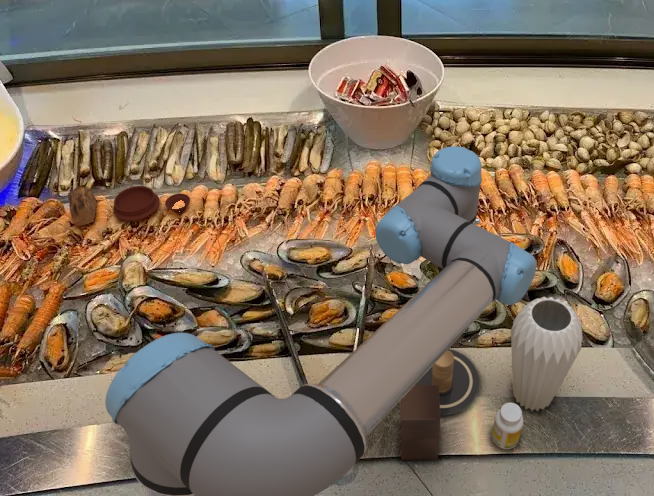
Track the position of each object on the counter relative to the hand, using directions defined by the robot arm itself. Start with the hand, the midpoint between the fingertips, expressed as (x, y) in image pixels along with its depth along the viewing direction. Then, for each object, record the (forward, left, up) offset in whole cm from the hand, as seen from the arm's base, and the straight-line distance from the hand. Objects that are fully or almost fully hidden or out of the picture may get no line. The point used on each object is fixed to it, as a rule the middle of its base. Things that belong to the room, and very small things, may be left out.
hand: (446, 314), depth 122 cm
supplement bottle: (+7, -15, -25) cm, 30 cm away
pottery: (-46, +80, -25) cm, 95 cm away
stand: (-9, -9, -25) cm, 28 cm away
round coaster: (+1, +1, -25) cm, 25 cm away
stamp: (0, 0, -24) cm, 24 cm away
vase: (+17, -9, -25) cm, 31 cm away
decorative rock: (-62, +84, -25) cm, 108 cm away
